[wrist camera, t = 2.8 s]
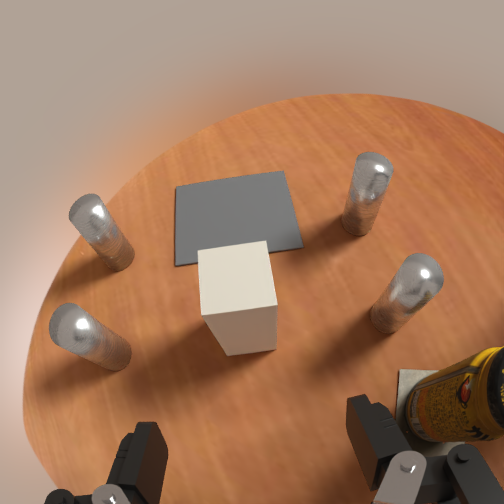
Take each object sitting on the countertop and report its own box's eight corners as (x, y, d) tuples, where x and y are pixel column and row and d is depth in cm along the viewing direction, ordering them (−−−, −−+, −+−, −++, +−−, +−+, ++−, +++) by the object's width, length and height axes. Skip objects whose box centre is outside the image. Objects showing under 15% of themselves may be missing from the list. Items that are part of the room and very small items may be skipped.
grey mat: (283, 171, 35) (283, 170, 35) (303, 247, 30) (303, 246, 30) (176, 187, 35) (176, 186, 35) (176, 266, 30) (175, 265, 29)
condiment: (467, 370, 22) (556, 325, 12) (461, 461, 18) (555, 460, 8) (398, 369, 23) (476, 323, 13) (387, 467, 19) (466, 487, 9)
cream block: (269, 304, 27) (266, 240, 19) (276, 349, 25) (277, 304, 16) (222, 310, 27) (197, 250, 18) (227, 355, 25) (201, 315, 16)
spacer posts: (366, 208, 32) (384, 151, 25) (408, 328, 25) (449, 291, 18) (108, 246, 31) (72, 197, 24) (100, 371, 25) (47, 347, 18)
